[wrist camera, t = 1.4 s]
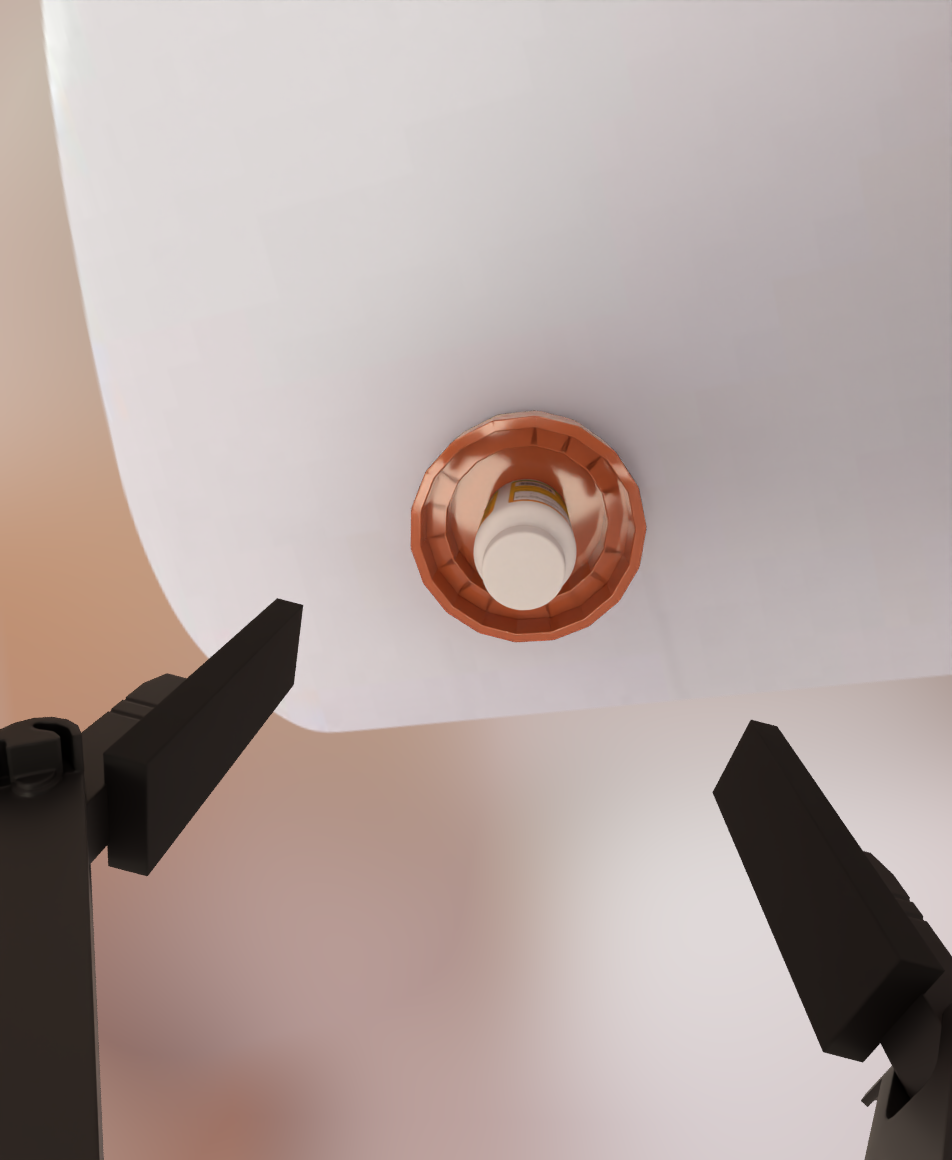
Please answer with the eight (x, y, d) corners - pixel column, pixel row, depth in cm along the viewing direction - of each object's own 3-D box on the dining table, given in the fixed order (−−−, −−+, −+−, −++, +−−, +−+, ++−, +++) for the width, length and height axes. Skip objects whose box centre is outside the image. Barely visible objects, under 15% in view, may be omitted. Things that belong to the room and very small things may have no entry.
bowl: (676, 516, 33) (697, 536, 29) (524, 647, 38) (523, 681, 34) (527, 360, 31) (526, 359, 27) (384, 519, 35) (364, 539, 31)
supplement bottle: (508, 572, 35) (499, 641, 26) (468, 502, 34) (445, 549, 25) (583, 536, 34) (600, 596, 25) (545, 462, 33) (549, 496, 24)
